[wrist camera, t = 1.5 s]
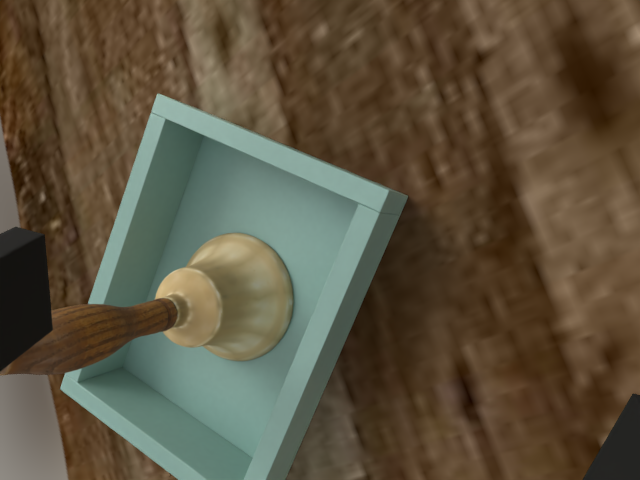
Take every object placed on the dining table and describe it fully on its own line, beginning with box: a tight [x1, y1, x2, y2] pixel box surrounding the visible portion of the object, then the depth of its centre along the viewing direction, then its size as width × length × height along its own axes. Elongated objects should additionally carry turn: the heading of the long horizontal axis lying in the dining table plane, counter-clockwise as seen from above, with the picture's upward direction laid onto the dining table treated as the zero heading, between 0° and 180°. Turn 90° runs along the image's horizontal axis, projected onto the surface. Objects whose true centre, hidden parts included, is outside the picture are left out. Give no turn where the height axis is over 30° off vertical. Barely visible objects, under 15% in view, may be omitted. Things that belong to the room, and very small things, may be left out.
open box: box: [60, 94, 408, 480], centre depth 30 cm, size 20×15×4 cm
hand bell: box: [0, 233, 294, 375], centre depth 24 cm, size 8×8×16 cm
